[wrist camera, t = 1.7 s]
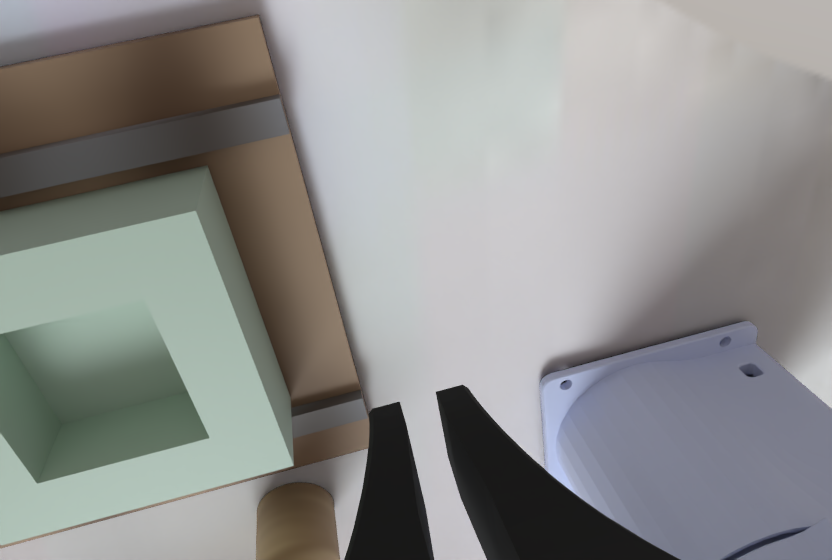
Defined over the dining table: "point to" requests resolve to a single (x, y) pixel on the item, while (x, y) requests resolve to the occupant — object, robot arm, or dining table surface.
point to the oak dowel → (297, 524)
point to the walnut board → (233, 178)
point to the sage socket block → (129, 356)
